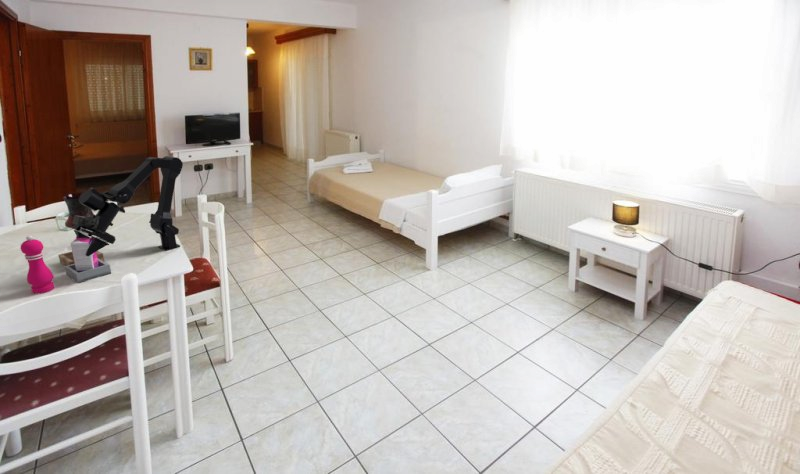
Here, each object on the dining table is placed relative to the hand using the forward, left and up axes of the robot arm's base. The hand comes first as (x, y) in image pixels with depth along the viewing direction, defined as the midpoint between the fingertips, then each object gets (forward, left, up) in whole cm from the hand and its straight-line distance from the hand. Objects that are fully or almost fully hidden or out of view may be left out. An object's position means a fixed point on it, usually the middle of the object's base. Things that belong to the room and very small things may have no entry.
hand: (80, 253), depth 168 cm
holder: (+14, -4, -9) cm, 17 cm away
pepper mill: (-2, +14, -9) cm, 17 cm away
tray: (0, -1, -9) cm, 9 cm away
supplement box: (0, -1, -7) cm, 7 cm away
